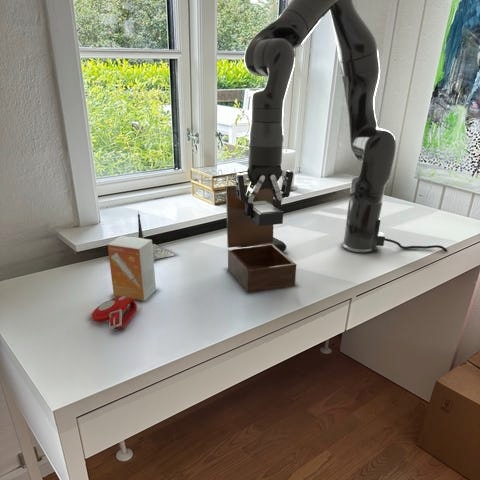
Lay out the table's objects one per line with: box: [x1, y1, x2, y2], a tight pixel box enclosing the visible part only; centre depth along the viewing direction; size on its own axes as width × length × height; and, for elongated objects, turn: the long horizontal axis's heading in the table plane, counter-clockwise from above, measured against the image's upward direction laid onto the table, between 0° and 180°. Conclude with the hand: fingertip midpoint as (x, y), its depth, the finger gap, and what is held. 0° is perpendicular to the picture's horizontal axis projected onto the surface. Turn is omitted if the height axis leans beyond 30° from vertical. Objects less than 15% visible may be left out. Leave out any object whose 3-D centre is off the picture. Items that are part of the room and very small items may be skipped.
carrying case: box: [243, 236, 288, 253], centre depth 137 cm, size 11×3×15 cm
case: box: [227, 244, 297, 294], centre depth 119 cm, size 15×13×6 cm
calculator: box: [244, 201, 284, 226], centre depth 112 cm, size 10×6×3 cm, turn 20°
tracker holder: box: [91, 296, 138, 331], centre depth 100 cm, size 12×4×10 cm
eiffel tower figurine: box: [137, 210, 175, 261], centre depth 128 cm, size 15×10×13 cm
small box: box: [107, 235, 157, 302], centre depth 108 cm, size 8×6×13 cm
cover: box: [225, 183, 274, 249], centre depth 120 cm, size 16×13×1 cm
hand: (262, 216), depth 113 cm, fingers closed on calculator, 6 cm apart
